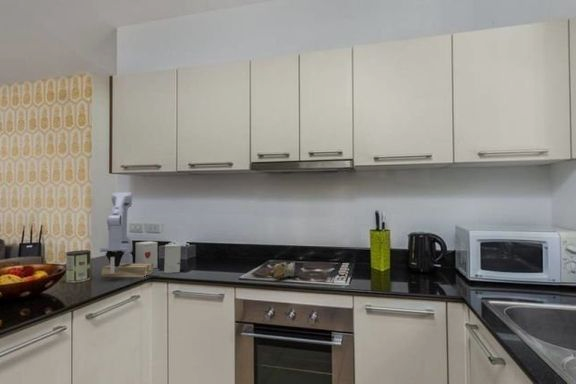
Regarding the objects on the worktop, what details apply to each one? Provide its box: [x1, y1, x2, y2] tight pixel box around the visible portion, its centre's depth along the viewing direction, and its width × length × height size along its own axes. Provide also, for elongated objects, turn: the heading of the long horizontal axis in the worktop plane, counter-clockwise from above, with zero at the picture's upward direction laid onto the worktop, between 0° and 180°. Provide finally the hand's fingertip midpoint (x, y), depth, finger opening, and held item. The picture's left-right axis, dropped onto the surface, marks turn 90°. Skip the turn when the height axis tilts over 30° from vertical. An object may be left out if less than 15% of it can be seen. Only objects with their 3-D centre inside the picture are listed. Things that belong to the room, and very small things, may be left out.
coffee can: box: [65, 249, 92, 284], centre depth 162 cm, size 10×10×14 cm
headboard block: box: [101, 262, 154, 278], centre depth 173 cm, size 10×22×5 cm, turn 88°
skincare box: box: [163, 243, 182, 274], centre depth 180 cm, size 8×6×15 cm
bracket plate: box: [109, 256, 120, 273], centre depth 163 cm, size 4×2×8 cm, turn 178°
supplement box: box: [135, 241, 158, 269], centre depth 190 cm, size 9×9×15 cm
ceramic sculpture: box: [264, 260, 296, 280], centre depth 164 cm, size 11×9×15 cm
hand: (115, 266), depth 163 cm, fingers closed on bracket plate, 2 cm apart
